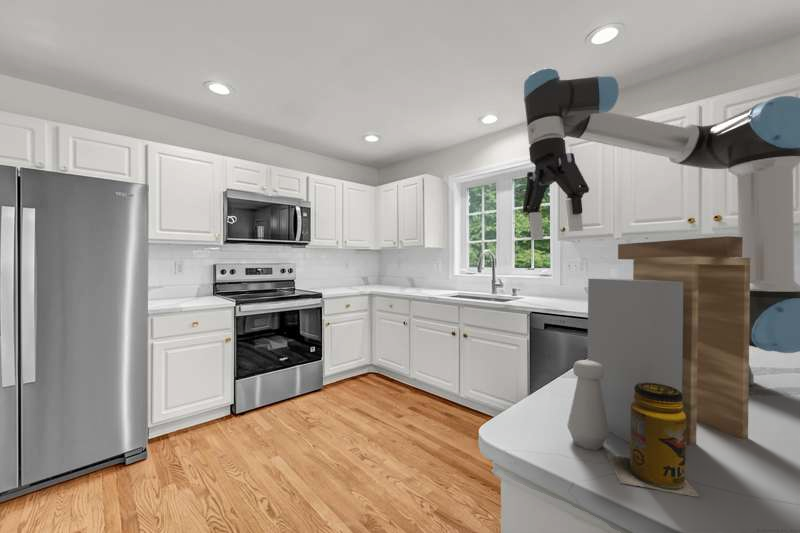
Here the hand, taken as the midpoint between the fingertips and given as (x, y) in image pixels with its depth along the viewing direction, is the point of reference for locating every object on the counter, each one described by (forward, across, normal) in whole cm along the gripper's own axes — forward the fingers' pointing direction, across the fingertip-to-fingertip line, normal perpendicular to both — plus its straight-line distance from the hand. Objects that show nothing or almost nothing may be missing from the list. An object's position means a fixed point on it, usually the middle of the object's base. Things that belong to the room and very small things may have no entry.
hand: (555, 235), depth 80 cm
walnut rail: (+7, +16, +12) cm, 21 cm away
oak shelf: (+37, +18, +10) cm, 42 cm away
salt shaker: (+36, +20, -12) cm, 43 cm away
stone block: (+36, +18, -2) cm, 40 cm away
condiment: (+36, +29, -10) cm, 47 cm away
